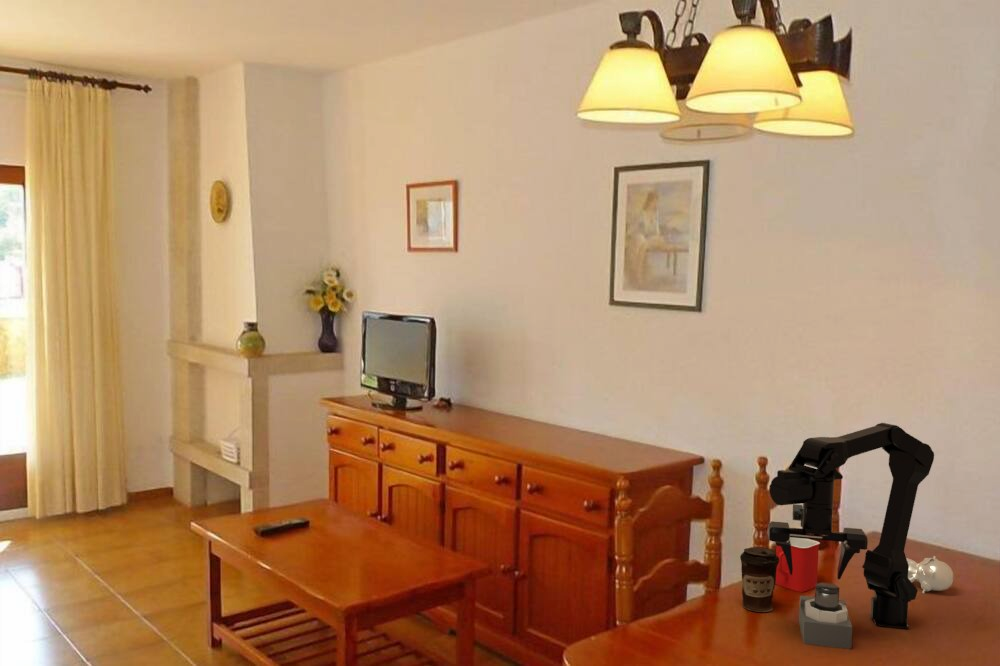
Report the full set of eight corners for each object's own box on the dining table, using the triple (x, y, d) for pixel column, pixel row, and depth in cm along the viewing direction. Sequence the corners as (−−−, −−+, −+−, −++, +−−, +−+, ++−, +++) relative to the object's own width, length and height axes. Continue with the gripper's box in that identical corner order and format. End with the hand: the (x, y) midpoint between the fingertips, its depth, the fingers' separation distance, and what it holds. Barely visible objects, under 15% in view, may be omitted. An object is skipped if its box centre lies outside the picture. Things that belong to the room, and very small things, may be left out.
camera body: (843, 626, 188) (845, 596, 187) (851, 649, 176) (852, 617, 176) (798, 621, 190) (800, 591, 189) (803, 643, 178) (804, 611, 178)
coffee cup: (779, 617, 192) (781, 558, 191) (739, 613, 194) (742, 555, 193) (775, 602, 201) (777, 546, 200) (737, 599, 202) (739, 543, 201)
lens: (820, 609, 185) (821, 581, 185) (841, 615, 182) (843, 586, 181) (810, 614, 182) (811, 586, 181) (831, 621, 178) (833, 592, 178)
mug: (789, 577, 219) (791, 534, 218) (820, 586, 212) (822, 542, 212) (762, 587, 211) (763, 543, 210) (793, 597, 205) (795, 551, 204)
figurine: (889, 544, 221) (949, 548, 209) (903, 562, 223) (963, 567, 211) (877, 580, 215) (938, 586, 204) (891, 598, 218) (952, 605, 206)
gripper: (861, 495, 186) (857, 568, 187) (768, 488, 190) (765, 560, 191) (869, 508, 175) (865, 586, 176) (770, 501, 180) (767, 576, 181)
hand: (814, 576), depth 181 cm, fingers open, 9 cm apart
